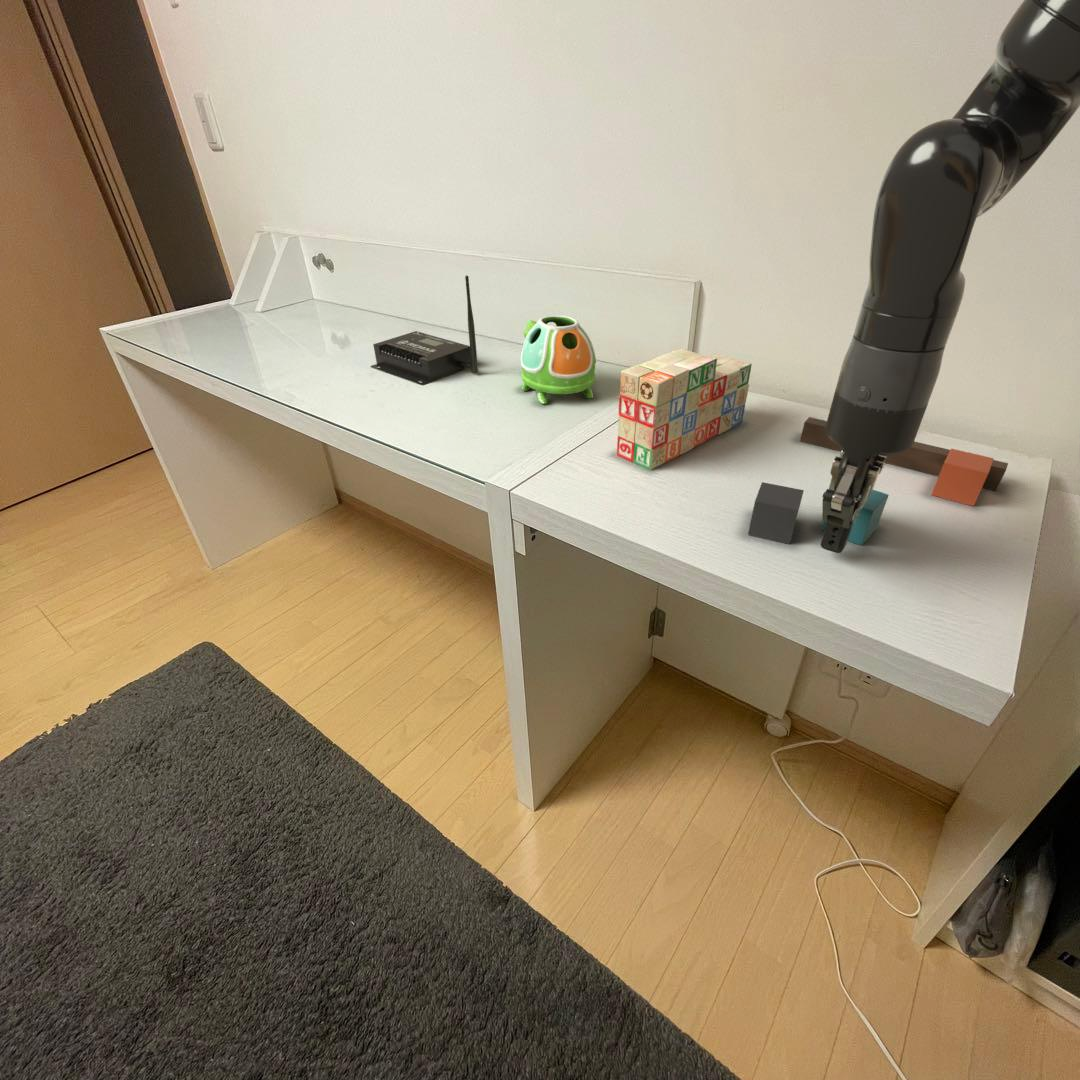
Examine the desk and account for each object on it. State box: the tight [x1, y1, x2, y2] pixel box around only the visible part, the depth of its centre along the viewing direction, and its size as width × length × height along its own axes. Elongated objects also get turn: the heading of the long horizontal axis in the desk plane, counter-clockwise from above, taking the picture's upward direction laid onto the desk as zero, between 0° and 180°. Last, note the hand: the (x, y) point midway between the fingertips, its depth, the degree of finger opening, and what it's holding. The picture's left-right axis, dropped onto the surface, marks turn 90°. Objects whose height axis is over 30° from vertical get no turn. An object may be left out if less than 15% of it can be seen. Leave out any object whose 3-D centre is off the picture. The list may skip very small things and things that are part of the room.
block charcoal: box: [747, 481, 805, 545], centre depth 68 cm, size 4×4×4 cm
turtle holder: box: [520, 314, 597, 405], centre depth 103 cm, size 12×18×12 cm
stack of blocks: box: [616, 348, 753, 471], centre depth 85 cm, size 21×6×12 cm, turn 131°
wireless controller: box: [369, 275, 479, 386], centre depth 111 cm, size 20×14×17 cm
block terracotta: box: [930, 448, 995, 507], centre depth 73 cm, size 4×4×4 cm
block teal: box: [820, 489, 889, 546], centre depth 68 cm, size 4×4×4 cm
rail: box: [799, 416, 1009, 492], centre depth 81 cm, size 24×2×3 cm, turn 52°
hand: (832, 547), depth 64 cm, fingers closed
